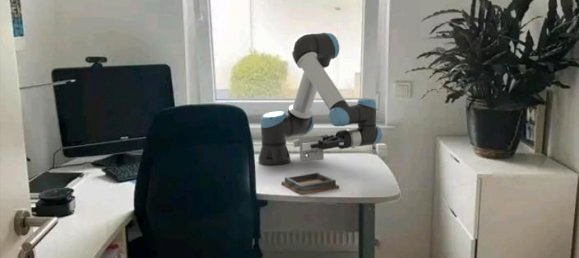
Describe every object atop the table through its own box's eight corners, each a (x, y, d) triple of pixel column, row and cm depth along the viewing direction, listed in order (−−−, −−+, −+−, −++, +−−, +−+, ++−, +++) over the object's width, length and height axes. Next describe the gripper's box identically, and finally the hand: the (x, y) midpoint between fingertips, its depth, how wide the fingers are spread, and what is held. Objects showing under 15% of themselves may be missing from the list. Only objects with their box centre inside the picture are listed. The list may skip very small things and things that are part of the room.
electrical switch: (300, 161, 219) (299, 137, 218) (299, 159, 224) (298, 136, 223) (323, 160, 219) (323, 136, 219) (322, 158, 224) (321, 135, 224)
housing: (281, 184, 228) (281, 177, 228) (317, 178, 236) (317, 171, 235) (301, 195, 213) (301, 187, 213) (339, 188, 221) (339, 180, 221)
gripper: (361, 152, 222) (310, 159, 211) (334, 143, 239) (286, 150, 229) (361, 133, 220) (310, 140, 210) (334, 126, 237) (286, 132, 227)
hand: (298, 145), depth 219 cm, fingers closed on electrical switch, 7 cm apart
